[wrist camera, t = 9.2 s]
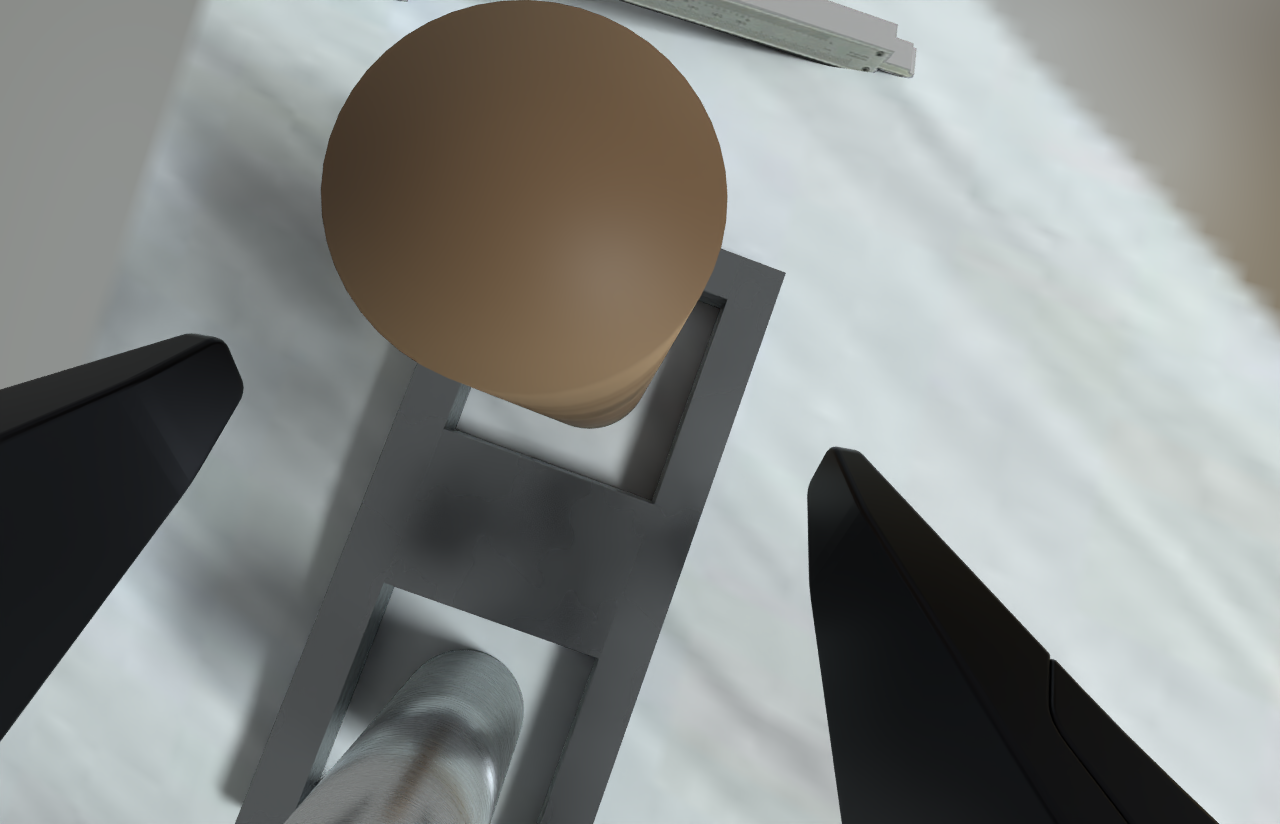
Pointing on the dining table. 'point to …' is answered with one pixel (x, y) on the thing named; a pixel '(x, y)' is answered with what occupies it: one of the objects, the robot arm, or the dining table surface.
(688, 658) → the dining table surface
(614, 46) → the walnut pin
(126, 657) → the dining table surface
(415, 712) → the steel pin
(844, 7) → the caliper
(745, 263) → the plate
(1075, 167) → the dining table surface
